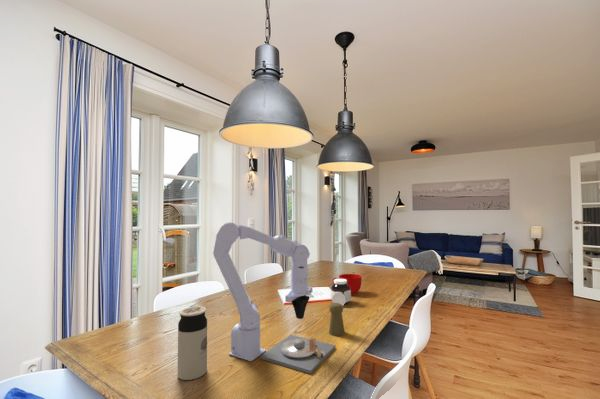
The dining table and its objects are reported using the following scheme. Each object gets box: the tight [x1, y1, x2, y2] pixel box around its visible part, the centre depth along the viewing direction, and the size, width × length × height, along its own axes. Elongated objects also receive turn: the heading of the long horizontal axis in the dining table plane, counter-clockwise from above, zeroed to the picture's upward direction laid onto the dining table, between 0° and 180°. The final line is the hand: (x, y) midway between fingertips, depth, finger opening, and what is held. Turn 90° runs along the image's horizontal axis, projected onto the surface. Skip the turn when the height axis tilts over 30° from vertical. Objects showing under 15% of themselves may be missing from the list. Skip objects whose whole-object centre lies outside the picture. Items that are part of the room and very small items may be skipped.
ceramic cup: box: [331, 273, 363, 296], centre depth 163 cm, size 13×17×10 cm
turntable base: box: [260, 334, 336, 375], centre depth 92 cm, size 18×18×4 cm
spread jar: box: [330, 278, 352, 306], centre depth 144 cm, size 12×11×12 cm
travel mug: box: [177, 305, 208, 381], centre depth 82 cm, size 8×8×18 cm
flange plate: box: [281, 337, 325, 359], centre depth 92 cm, size 12×15×4 cm
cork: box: [328, 302, 346, 337], centre depth 109 cm, size 6×6×11 cm
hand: (299, 318), depth 97 cm, fingers closed
